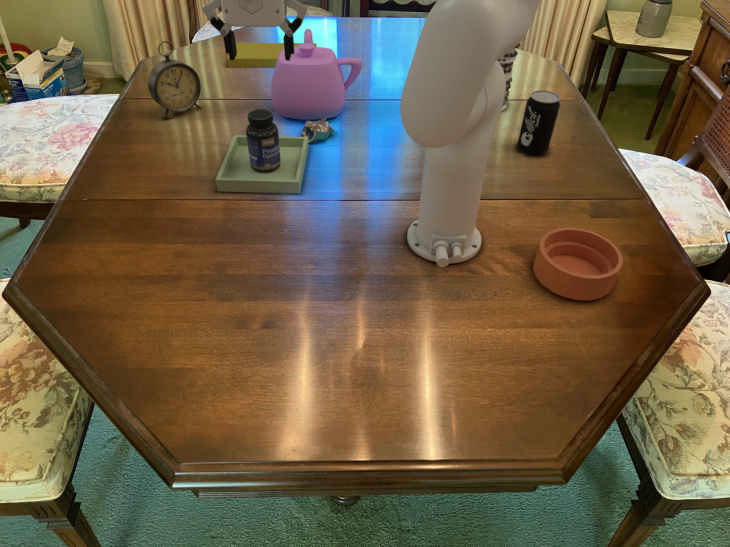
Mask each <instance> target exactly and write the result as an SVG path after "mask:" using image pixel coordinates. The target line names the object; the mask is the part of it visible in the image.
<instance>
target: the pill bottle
mask: <svg viewBox="0 0 730 547" xmlns="http://www.w3.org/2000/svg"><path fill="white" fill-rule="evenodd" d="M247 122H248V123H249V124H248V125H247V126H246V128H245V135H246V136H247V144H248V152H249V159H250V166H251V168H252V169H253V170H255V171H257V172H262V173H268V172H272V171H275V170H276V169H278V168H279V167H280V162H281V159H280V148H279V136H280V135H279V127H278V126H277V124H275V123H274V113H273V112H272V111H271V110H269V109H265V108H256V109H253V110H251V111H249V112H248V113H247Z"/></svg>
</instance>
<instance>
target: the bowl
mask: <svg viewBox="0 0 730 547" xmlns="http://www.w3.org/2000/svg"><path fill="white" fill-rule="evenodd" d="M533 261H534V262H533V264H532V265H533V266H532V270H533V273H534V276H535V278H536V279H537V280H538V281H539V283H540V284H541V285H542V286H543V287H545V288H546V289H547V290H549V291H550V292H552V293H554V294H556V295H558V296H560V297H563V298H566V299H570V300H574V301H588V302H589V301H594V300H599V299H602V298H604V297H605V296H607V295H609V294H610V293H611V291H612V289H613V288H614V286H615V283H616V281H617V279H618V276H619V275H620V272H621V270H622V267H623V266H624V256H623V254H622V251H621V250H620V248H618V246H617V245H616V244H615V243H613V241H612V240H610V239H608V238H607V237H605V236H604V235H602V234H600V233H598V232H594V231H592V230H590V229H587V228H586V229H585V228H582V227H581V228H580V227H572V226H569V227H568V226H564V227H558V228H554V229H551V230H549V231H548V232H547V231H546V233H545V234H543V236H542V237H541V238H540V240H539V244H538V247H537V250H536V254H535V257H534V260H533Z"/></svg>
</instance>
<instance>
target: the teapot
mask: <svg viewBox="0 0 730 547" xmlns="http://www.w3.org/2000/svg"><path fill="white" fill-rule="evenodd" d="M301 43H302V44H299V45H298V47H294V54H291V58H290V61H287V60H285V51H284V49H283V50H282V51H281V52H280V54H279V57H278V60H277V63H276V66H275V67H274V69H273V74H272V77H271V86H270V87H271V88H270V100H271V105H272V108H273V109H274V110H275V112H276V113H277V114H278V115H279V116H280V117H282V118H287V119H293V120H321V119H324V118H326V119H331V118H334V117H337V116H339V114H340V113H341V111H342V110H343V108H344V106H345V102H346V98H347V90H348V89H349V88H350V87H351V86H352V84H353V83H354V82H355V81H356V80H357V78H358V76H359V75H360V73H361V71H362V68H363V63H362V60H361V59H359V58H357V57H343V58H338V57H337V55H336V53H335V51H334V50H333V49H332V48H329V47H323V46H322V47H321V46H317V47H315V45H314V44H313V43H314V40H313V31H312V29H310V28H306V29H305V30H304V33H303V42H301ZM341 66H350V67H351V70H350V73H349V75H348V77H347V79H346V81H345V79H344V78H345V77H344V74H343V71H342V68H341Z"/></svg>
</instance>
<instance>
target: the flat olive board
mask: <svg viewBox="0 0 730 547" xmlns="http://www.w3.org/2000/svg"><path fill="white" fill-rule="evenodd" d="M302 43H303V42H294V47H298V45H299V44H302ZM313 44H314V45H315V47H318V46H317V42H313ZM236 49H237V55H236V57H235V59H234V60H230V58H229V54H227V57H226V64H227V68H241V67H243V68H253V67H254V68H257V67H258V68H275V66H276V63H277V60H278V57H279V54H280V52H281V51H282V50H283V49H284V42H236Z"/></svg>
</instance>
